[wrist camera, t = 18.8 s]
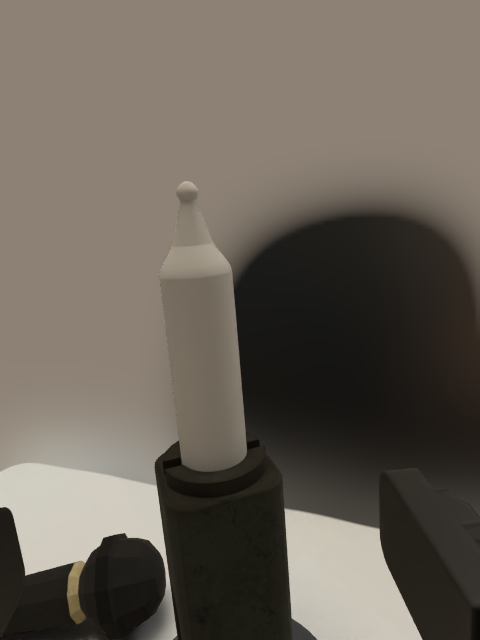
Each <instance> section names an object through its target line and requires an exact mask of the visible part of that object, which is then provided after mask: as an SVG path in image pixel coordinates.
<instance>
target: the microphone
mask: <svg viewBox="0 0 480 640" xmlns="http://www.w3.org/2000/svg"><path fill="white" fill-rule="evenodd" d="M165 588H166V577H165V568H164V562H163V559H162V557H161V554H160V553H159V551H158V550H157V549H156V548H155V547H154V546H153V545H152V544H151V542H150V541H149V540H144V539H140V538H127V536H126V534H125V533H123V534H117V535H113V536H109V537H105V538H103V540H102V543H101V546H99V547H98V548H97V549H95V550H94V551H93V552H92V553H91V555H90V556H89V558H88V560H87V562H86V563H84V562H83V561H78V562H75V563H71V564H67V565H63V566H60V567H56V568H52V569H49V570H45V571H41V572H37V573H34V574H30V575H26V576H25V583H24V589H23V594H22V597H21V600H20V602H19V604H18V606H17V608H16V610H15V612H14V614H13V616H12V618H11V620H10V621H9V623H8V625H7V627H6V629H5V631H4V633H3V635H7V634H14V633H21V632H28V631H35V630H42V629H50V628H57V627H64V626H71V625H77V624H79V623H81V622H83V621H84V620H85V619H86V618H88V619H89V621H90V622H91V623H92V624H93V626H94V627H95V628H96V629H98V630H101V631H103V632H105V634H106V635H107V636H108V638H109V639H110V640H114V639H121V638H124V637H125V636H127V635H128V634H129V633H130V632H132V631H133V628H134V627H136V626H138V625H140V624H141V623H142V622H144V621H145V620H147V619H148V618H150V617H151V616H152V615H153V614H155V613H156V611H157V609H158V607H159V605H160V603H161V601H162V599H163V597H164V594H165Z"/></svg>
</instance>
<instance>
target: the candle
mask: <svg viewBox="0 0 480 640" xmlns="http://www.w3.org/2000/svg"><path fill="white" fill-rule="evenodd" d="M177 197H178V198H179V200H180V207H179V213H178V218H177V224H176V230H175V234H174V240H173V246H172V248H171V250H170V252H169V254H168V256H167V258H166V260H165V262H164V264H163V266H162V268H161V270H160V276H159V277H160V286H161V293H162V301H163V311H164V319H165V327H166V336H167V343H168V352H169V361H170V368H171V377H172V385H173V394H174V402H175V410H176V419H177V427H178V434H179V441H178V442H176V443H175V444H173V445H172V446H171V447H170V448H169V449H168V450H167V451H166V452H165V453H164V454H162V455H161V456H160V457H159V458H158V459H157V460H156V462H155V474H156V481H157V489H158V496H159V504H160V511H161V518H162V526H163V533H164V540H165V548H166V555H167V563H168V570H169V577H170V585H171V592H172V599H173V607H174V614H175V621H176V629H177V636H178V640H293V633H292V618H291V603H290V588H289V572H288V557H287V542H286V527H285V511H284V497H283V481H282V474H281V472H280V470H279V469H278V467H277V466H276V465H275V463H274V462H273V461H272V460H271V458H270V457H269V456H268V455H267V453H266V449H265V446H261V445H260V444H259V439H258V438H257V437H255V436H253V435H251V434H249V433H246V432H245V421H244V410H243V398H242V386H241V374H240V362H239V350H238V338H237V327H236V314H235V302H234V291H233V278H232V269H231V266H230V264H229V263H228V262H227V260H226V259H225V257H224V256H223V255H222V254H221V252H220V251H219V250H218V249H217V247H216V246H215V245H214V243H213V241H212V239H211V236H210V234H209V232H208V229H207V226H206V224H205V221H204V219H203V216H202V214H201V211H200V209H199V206H198V204H197V201H196V200H197V197H198V189H197V187H196V186H195V185H194V184H193V183H191V182H183V183H181V184H180V186H179V187H178V189H177Z"/></svg>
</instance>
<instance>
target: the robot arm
mask: <svg viewBox="0 0 480 640" xmlns="http://www.w3.org/2000/svg"><path fill="white" fill-rule="evenodd" d="M379 509H380V511H379V512H380V540H381V546H382V551H383V554H384V558H385V561H386V564H387V566H388V568H389V570H390V572H391V574H392V576H393V579H394V581H395V583H396V585H397V587H398V589H399V591H400V593H401V595H402V597H403V600H404V602H405V604H406V606H407V608H408V610H409V612H410V614H411V616H412V618H413V621H414V623H415V625H416V627H417V629H418V631H419V633H420V635H421V637H422V639H423V640H480V516H479V515H478V514H477V513H476V511H475V510H474V509H473V508H472V507H471V506H470V504H468V503H467V502H465V501H464V500H462V499H460V498H459V497H457V496H456V495H454V494H452V493H451V492H449V491H448V490H440V491H435V490H434V489H433V488H432V486H431V485H430V484H429V482H428V481H427V480H426V479H425V477H424V476H423V475H422V474H421V472H420V471H419V470H418V469H416V468H412V469H401V470H391V471H383V472H381V473H380V477H379ZM24 583H25V568H24V563H23V559H22V554H21V550H20V545H19V541H18V536H17V532H16V527H15V523H14V518H13V515H12V513H11V511H10V510H9V509H8V508H6V507H3V508H0V639H1V637H2V635H3V633H4V631H5V629H6V627H7V625H8V623H9V621H10V620H11V618H12V616H13V614H14V612H15V610H16V608H17V606H18V604H19V602H20V600H21V597H22V594H23V589H24Z"/></svg>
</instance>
